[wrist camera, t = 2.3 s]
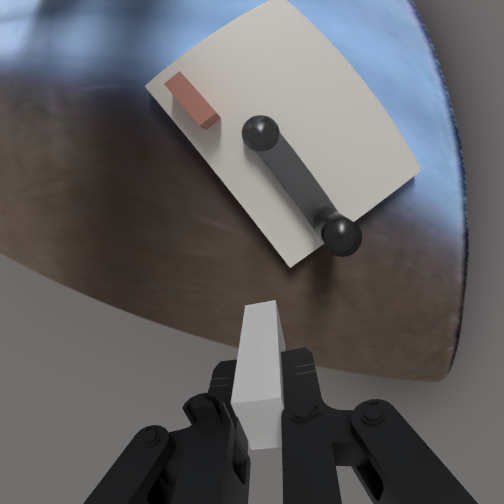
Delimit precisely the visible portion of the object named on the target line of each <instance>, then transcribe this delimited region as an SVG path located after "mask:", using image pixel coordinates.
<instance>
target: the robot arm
mask: <svg viewBox="0 0 504 504" xmlns="http://www.w3.org/2000/svg"><path fill="white" fill-rule="evenodd" d="M183 410H184V412H185V414H186V415H187V417H188V419H189V421H190V422H191V424H192V425H191V426H190V427H188V428H185V429H181V430H177V431H173V432H169V433H168V431H167V430H166V429H165V428H164V427H161V426H156V425H152V426H147V427H145V428H143V429H141V430H140V431H139V432H138V433H137V434H136V435H135V436H134V438H133V439H132V440H131V442H130V443H129V444H128V446H127V447H126V448H125V450H124V451H123V453H122V454H121V455H120V456H119V458H118V459H117V460H116V462H115V463H114V464H113V466H112V467H111V468H110V469H109V471H108V472H107V473H106V475H105V476H104V477H103V479H102V480H101V481H100V483H99V484H98V485H97V487H96V488H95V489H94V490H93V492H92V493H91V494H90V496H89V497H88V498H87V499H86V501H85V502H84V504H248V494H249V479H250V463H251V462H250V458H249V456H248V453H247V452H248V444H249V446H250V448H251V450H258V449H269V448H278V447H282V463H283V464H282V466H283V504H342V502H341V496H340V489H339V484H338V477H337V471H336V466H351V467H352V468H353V470H354V472H355V474H356V475H357V477H358V479H359V480H360V482H361V484H362V485H363V487H364V489H365V490H366V492H367V494H368V496H369V497H370V499H371V501H372V502H373V504H478V503H477V502H476V501H475V500H474V499H473V497H472V496H471V495H470V494H469V493H468V492H467V491H466V489H465V488H464V487H463V486H462V485H461V484H460V482H459V481H458V480H457V479H456V478H455V477H454V476H453V475H452V473H451V472H450V471H449V470H448V469H447V467H446V466H445V465H444V464H443V463H442V462H441V460H440V459H439V458H438V457H437V456H436V455H435V454H434V452H433V451H432V450H431V449H430V448H429V447H428V446H427V444H426V443H425V442H424V441H423V440H422V439H421V438H420V436H419V435H418V434H417V433H416V432H415V431H414V430H413V428H412V427H411V426H410V425H409V424H408V423H407V421H406V420H405V419H404V418H403V417H402V416H401V415H400V413H399V412H398V411H397V410H396V409H395V408H394V407H393V405H391V404H390V403H388V402H387V401H384V400H380V399H373V400H372V399H371V400H368V401H365V402H362V403H361V404H359V405H358V406H356V408H355V409H354V410H337V409H333V408H331V407H329V406H327V405H326V404H325V403H324V402H323V400H322V397H321V393H320V388H319V383H318V378H317V374H316V369H315V364H314V360H313V355H312V353H311V352H310V351H309V350H308V349H307V348H306V347H305V348H299V349H294V350H289V351H286V349H285V342H284V337H283V332H282V328H281V323H280V318H279V314H278V309H277V304H276V300H274V301H268V302H263V303H257V304H252V305H246V306H245V312H244V318H243V325H242V332H241V338H240V345H239V352H238V359H237V360H229V361H221V362H220V363H219V364H218V365H217V366H216V367H215V369H214V370H213V374H212V380H211V383H210V388H209V391H208V393H202V394H198V395H196V396H194V397H192V398H190V399H189V400H188V401H187V402H186V403H185V404H184V406H183Z"/></svg>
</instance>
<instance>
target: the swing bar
mask: <svg viewBox="0 0 504 504" xmlns="http://www.w3.org/2000/svg"><path fill="white" fill-rule="evenodd" d="M242 139H243V141H244V143H245V144H246V145H247V147H248V148H250V149H251V150H253V151H255V152H256V153H257V154H258V156H259V157H260V158H261V159H262V161H263V162H264V163H265V165H266V166H267V167H268V168H269V170H270V171H271V172H272V174H273V175H274V176H275V177H276V179H277V180H278V181H279V183H280V184H281V185H282V187H283V188H284V189H285V191H286V192H287V193H288V195H289V196H290V197H291V199H292V200H293V201H294V203H295V204H296V205H297V207H298V208H299V209H300V211H301V212H302V214H303V215H304V216H305V218H306V219H307V220H308V222H309V223H310V225H311V226H312V227H313V229H314V230H315V232H316V233H317V234H318V236H319V237H320V239H321V240H322V241H323V242H324V243H325V244H326V246H327V247H328V248H329V250H330V251H331V252H332V253H333V254H335V255H337V256H341V257H345V256H349V255H352V254H353V253H355V252H356V251H357V250H358V248H359V247H360V245H361V242H362V233H361V230H360V228H359V226H358V225H357V224H356V223H354V222H353V221H351V220H350V219H348V218H347V217H345V216H343V215H342V214H340V213H339V212H338V211H337V209H336V208H335V206H334V205H333V203H332V202H331V200H330V199H329V197H328V196H327V195H326V193H325V192H324V190H323V189H322V187H321V186H320V185H319V183H318V182H317V180H316V179H315V178H314V176H313V175H312V174H311V172H310V171H309V169H308V168H307V167H306V165H305V164H304V163H303V161H302V160H301V159H300V157H299V156H298V155H297V153H296V152H295V151H294V150H293V148H292V147H291V146H290V144H289V143H288V142H287V141H286V139H285V138H284V137H283V135H282V134H281V133H280V130H279V127H278V125H277V123H276V122H275V121H274V120H273V119H272V118H270V117H268V116H264V115H257V116H253V117H251V118H250V119H248V120H247V121H246V122H245V124H244V125H243V128H242Z"/></svg>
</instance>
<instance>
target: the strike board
mask: <svg viewBox="0 0 504 504" xmlns="http://www.w3.org/2000/svg"><path fill="white" fill-rule="evenodd" d="M145 87H146V89H147V90H148V91H149V92H150V93H151V94H152V96H153V97H154V98H155V99H156V100H157V102H158V103H159V104H160V105H161V106H162V108H163V109H164V110H165V111H166V112H167V114H168V115H169V116H170V117H171V119H172V120H173V121H174V122H175V123H176V125H177V126H178V127H179V128H180V129H181V131H182V132H183V133H184V134H185V136H186V137H187V138H188V139H189V140H190V142H191V143H192V144H193V145H194V147H195V148H196V149H197V150H198V152H199V153H200V154H201V155H202V157H203V158H204V159H205V160H206V161H207V163H208V164H209V165H210V166H211V168H212V169H213V170H214V171H215V173H216V174H217V175H218V176H219V178H220V179H221V180H222V181H223V183H224V184H225V185H226V186H227V188H228V189H229V190H230V191H231V193H232V194H233V195H234V197H235V198H236V199H237V200H238V202H239V203H240V204H241V205H242V207H243V208H244V209H245V210H246V212H247V213H248V214H249V216H250V217H251V218H252V219H253V221H254V222H255V223H256V224H257V226H258V227H259V228H260V230H261V231H262V232H263V233H264V235H265V236H266V237H267V239H268V240H269V241H270V242H271V244H272V245H273V246H274V248H275V249H276V250H277V252H278V253H279V254H280V255H281V257H282V258H283V259H284V261H285V262H286V263H287V265H288V266H289V267H290V268H291V267H292V266H293V265H295V264H296V263H298V262H299V261H300V260H302V259H303V258H305V257H306V256H308V255H309V254H310V253H312V252H313V251H315V250H316V249H317V248H319V247H320V246H322V245H323V244H324V242H323V241H322V240H321V239H320V237H319V236H318V234H317V233H316V232H315V230H314V229H313V227H312V226H311V225H310V223H309V222H308V220H307V219H306V218H305V216H304V215H303V214H302V212H301V211H300V209H299V208H298V207H297V205H296V204H295V203H294V201H293V200H292V199H291V197H290V196H289V195H288V193H287V192H286V191H285V189H284V188H283V187H282V185H281V184H280V183H279V181H278V180H277V179H276V177H275V176H274V175H273V174H272V172H271V171H270V170H269V168H268V167H267V166H266V165H265V163H264V162H263V161H262V159H261V158H260V157H259V156H258V154H257V153H256V152H255V151H253V150H251V149H250V148H248V147H247V145H246V144H245V143H244V141H243V139H242V128H243V125H244V124H245V122H246V121H247V120H248V119H250V118H251V117H253V116H257V115H264V116H268V117H270V118H272V119H273V120H274V121H275V122H276V123H277V125H278V127H279V130H280V133H281V134H282V135H283V137H284V138H285V139H286V141H287V142H288V143H289V144H290V146H291V147H292V148H293V150H294V151H295V152H296V153H297V155H298V156H299V157H300V159H301V160H302V161H303V163H304V164H305V165H306V167H307V168H308V169H309V171H310V172H311V174H312V175H313V176H314V178H315V179H316V180H317V182H318V183H319V185H320V186H321V187H322V189H323V190H324V192H325V193H326V195H327V196H328V197H329V199H330V200H331V202H332V203H333V205H334V206H335V208H336V209H337V211H338V212H339V213H340V214H342V215H343V216H345V217H347V218H348V219H350V220H351V221H353V222H354V221H356V220H357V219H358V218H360V217H361V216H362V215H364V214H365V213H366V212H368V211H369V210H370V209H372V208H373V207H374V206H376V205H377V204H378V203H380V202H381V201H382V200H384V199H385V198H386V197H388V196H389V195H390V194H391V193H393V192H394V191H395V190H397V189H398V188H399V187H401V186H402V185H403V184H404V183H406V182H407V181H408V180H410V179H411V178H412V177H413V176H415V175H416V174H417V173H418V172H420V171H421V170H422V169H421V167H420V165H419V164H418V162H417V160H416V158H415V157H414V155H413V153H412V151H411V150H410V148H409V146H408V145H407V143H406V141H405V140H404V138H403V136H402V135H401V133H400V132H399V130H398V128H397V127H396V125H395V124H394V122H393V121H392V119H391V118H390V116H389V115H388V113H387V112H386V111H385V109H384V108H383V106H382V105H381V103H380V102H379V101H378V99H377V98H376V96H375V95H374V94H373V92H372V91H371V90H370V88H369V87H368V86H367V85H366V83H365V82H364V81H363V79H362V78H361V77H360V76H359V74H358V73H357V72H356V71H355V70H354V68H353V67H352V66H351V65H350V64H349V62H348V61H347V60H346V59H345V58H344V57H343V55H342V54H341V53H340V52H339V51H338V50H337V49H336V48H335V47H334V45H333V44H332V43H331V42H330V41H329V40H328V39H327V38H326V37H325V36H324V35H323V34H322V33H321V32H320V31H319V30H318V29H317V28H316V27H315V26H314V25H313V24H312V23H311V22H310V21H309V20H308V19H307V18H306V17H305V16H304V15H303V14H302V13H301V12H299V11H298V10H297V9H296V8H295V7H294V6H293V5H292V4H291V3H289V2H288V1H287V0H269V1H267V2H265V3H263V4H261V5H259V6H257V7H255V8H254V9H252V10H250V11H248V12H246V13H245V14H243V15H241V16H240V17H238V18H236V19H234V20H233V21H231V22H230V23H228V24H226V25H225V26H223V27H222V28H220V29H218V30H217V31H215V32H214V33H212V34H211V35H209V36H208V37H206V38H205V39H204V40H202V41H201V42H199V43H198V44H196V45H195V46H194V47H192V48H191V49H190V50H188V51H187V52H186V53H184V54H183V55H182V56H180V57H179V58H178V59H176V60H175V61H174V62H173V63H171V64H170V65H169V66H168V67H166V68H165V69H164V70H163V71H162V72H160V73H159V74H158V75H157V76H156V77H154V78H153V79H152V80H151V81H150V82H149V83H148V84H147V85H145Z"/></svg>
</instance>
